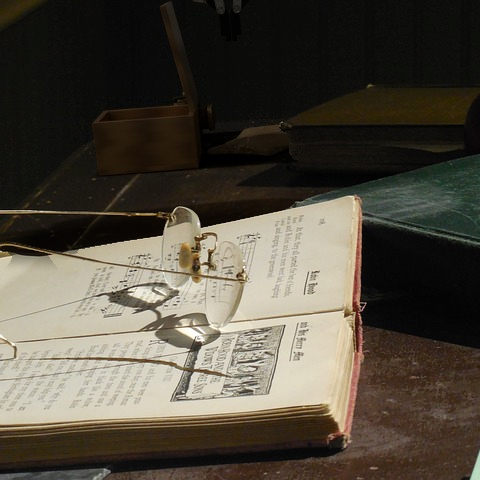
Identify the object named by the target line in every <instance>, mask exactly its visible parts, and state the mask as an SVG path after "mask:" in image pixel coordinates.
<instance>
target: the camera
mask: <svg viewBox="0 0 480 480" xmlns="http://www.w3.org/2000/svg"><path fill="white" fill-rule="evenodd" d="M198 97H199V102H198V105H197V108H198V118H199V127H200V137H201V140H204V141H205V142H201V148H202V151H206V150H207V151H208V149H210V148H213V144H212V143H210V142H208V140H207V139H206V138H204V137H203V135H204V131H203V130H209V131H210V132H211V131H212V132H213V131H215V130H216V125H217V116H216V110H215V109H214V105H213V104H212V103H211V104H207V105H206V106H201V101H200V99H201V98H200V96H199V95H198ZM172 103H173V106H175V105H188V104H187V101H186V97H185V94H184V91H182V95H178V96H173V97H172Z"/></svg>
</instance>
